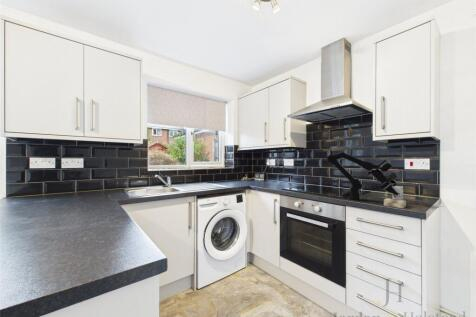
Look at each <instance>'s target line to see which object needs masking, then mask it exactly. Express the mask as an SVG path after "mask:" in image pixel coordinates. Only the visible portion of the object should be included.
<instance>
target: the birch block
mask: <svg viewBox="0 0 476 317" xmlns="http://www.w3.org/2000/svg"><path fill="white" fill-rule="evenodd" d="M383 206H385V207H386V206H387V207H393V208H400V209H401V208H402V209H404V208H406V207H407V200H404V199H403V200H397V199H392V198H384V199H383Z"/></svg>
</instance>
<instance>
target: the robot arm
mask: <svg viewBox="0 0 476 317" xmlns="http://www.w3.org/2000/svg"><path fill="white" fill-rule="evenodd" d="M339 159H345V160H348V161H350V162H352V163H354V164H357V165H358V166H360V167H361V168H363V169H364V170H366V171H367V176H368V177H370V176H372V177H373V178H375V180H376V181H377V182H379V183H380V185H379V188H380V189H381V190H383V191H386V192H388V193H389V194H392V193H393V194H395V195H398V193H397V192H396V191H395V189H394V188H393V186H398V182H397V181H396V180H395V179H398V178H400V177H399V174H398V173H397V172H391V173H390V174H389V175H387V174H384V173H387V172H388V171H390V170H391V169H392V168H393V167H394V166H393V165H392V164H391V163H389V162H388V161H386V160H385V159H384V160H382V161H381V162H380V163H379V164H373V163H372V162H369V161H365V160H362V159H359V158H356V157H354V156H353V155H350V154H347V153H345V152H344V151H343V152H340V153H337V154H334V155H333V154H329V155H328V156H327V157H326V160H327V161H328V162H329V163H330V164H331V165H333V166H334V167H335V168H336V169H338V171H339V172H340V173H341V174H343V175H344V177H345V178H346V179H348V181H349V183H350V184H351V186H350V187H349V191H348V192H349V194H348V200H353V201H359V200H361V198H362V196H361V194H362V193H361V192H360V190H361V189H362V188H363V184H362V181H361V180H360V179H359V178H358V177H356V178H355V177H354V176H353V175H352V174H351V173H350V172H349V171H348V170H347V169H346V168H345V167H344V166H343V165H342V164H341V163H340V162H339Z"/></svg>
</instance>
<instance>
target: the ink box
mask: <svg viewBox="0 0 476 317" xmlns="http://www.w3.org/2000/svg"><path fill="white" fill-rule="evenodd" d="M393 188H394V189H395V191H396V192H397V193H398V195H395V194H393V193H391V194H392V196H391V197H392V198H391V199H397V200H404V186H403V185H397V186H393Z"/></svg>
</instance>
